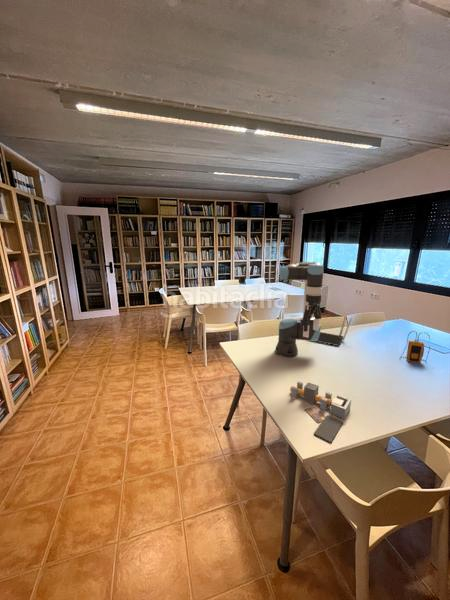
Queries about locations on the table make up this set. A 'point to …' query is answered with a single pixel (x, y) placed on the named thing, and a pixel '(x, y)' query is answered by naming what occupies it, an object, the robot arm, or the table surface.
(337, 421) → the smartphone
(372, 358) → the table surface
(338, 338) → the wireless router
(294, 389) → the clip
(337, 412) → the end holder
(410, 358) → the multimeter
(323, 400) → the clip
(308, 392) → the orange rod with blocks
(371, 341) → the table surface
